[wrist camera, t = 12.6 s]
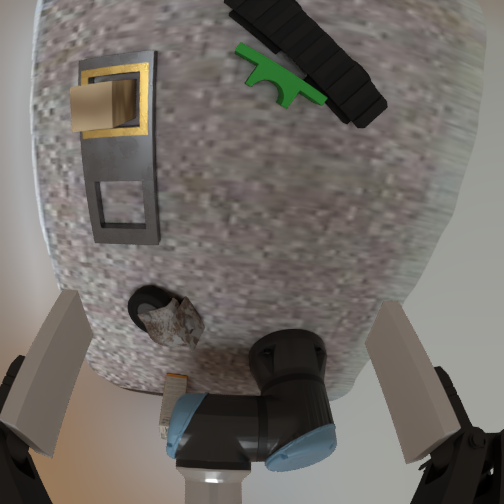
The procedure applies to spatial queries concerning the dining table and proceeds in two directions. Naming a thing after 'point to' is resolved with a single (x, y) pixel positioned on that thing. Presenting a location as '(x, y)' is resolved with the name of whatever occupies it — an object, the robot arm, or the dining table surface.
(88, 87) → the oak peg
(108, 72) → the rail plate
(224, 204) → the dining table surface
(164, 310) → the caster wheel
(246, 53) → the pipe clamp
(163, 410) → the supplement box
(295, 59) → the rail mount
